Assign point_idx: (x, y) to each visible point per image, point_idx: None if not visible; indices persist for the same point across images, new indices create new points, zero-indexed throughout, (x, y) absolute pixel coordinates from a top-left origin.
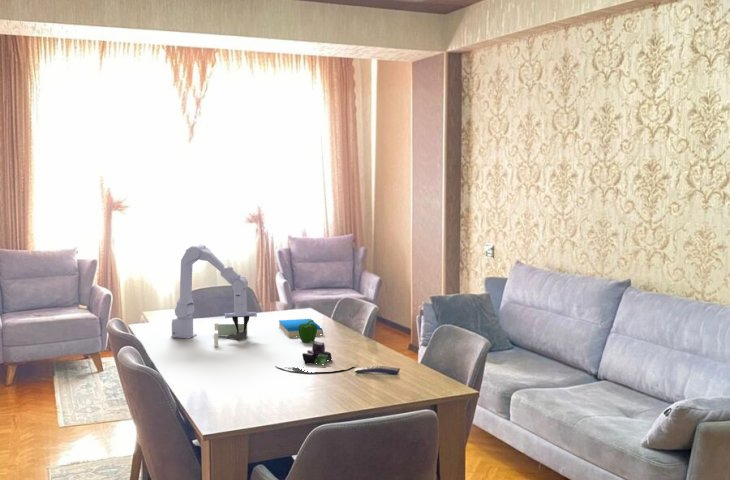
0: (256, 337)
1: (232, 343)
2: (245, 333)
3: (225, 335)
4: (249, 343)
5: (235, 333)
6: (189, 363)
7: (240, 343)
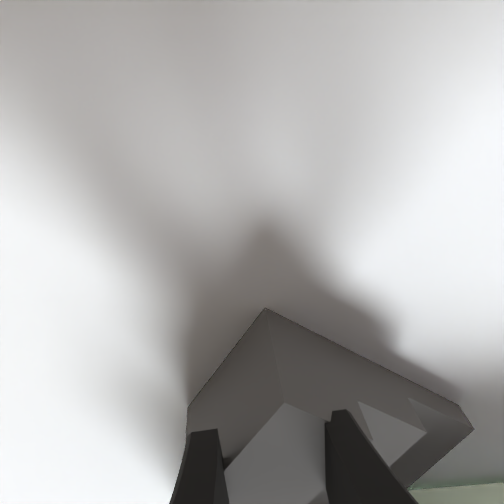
0: (46, 446)
1: (422, 52)
2: None
3: (465, 490)
4: (54, 15)
5: None
6: None
7: (258, 35)
